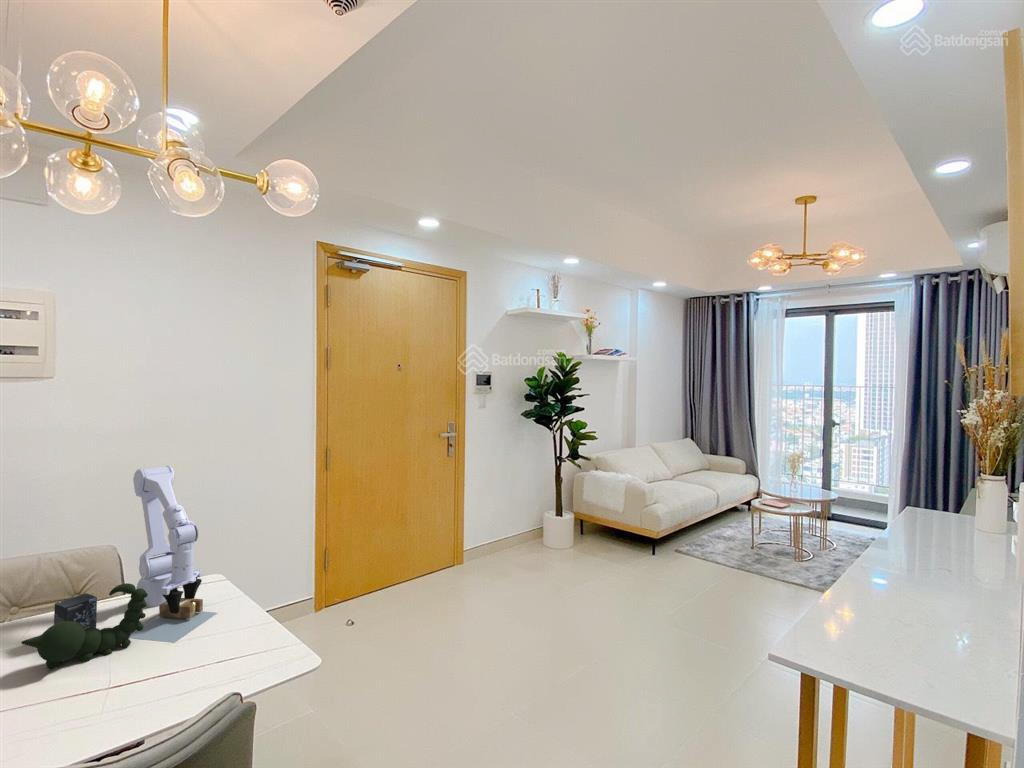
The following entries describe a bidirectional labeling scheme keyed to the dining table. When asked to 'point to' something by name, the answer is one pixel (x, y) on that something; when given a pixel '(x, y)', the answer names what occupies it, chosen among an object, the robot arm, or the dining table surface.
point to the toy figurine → (90, 633)
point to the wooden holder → (181, 608)
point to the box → (77, 610)
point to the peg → (193, 607)
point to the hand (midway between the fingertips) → (181, 608)
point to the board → (170, 627)
